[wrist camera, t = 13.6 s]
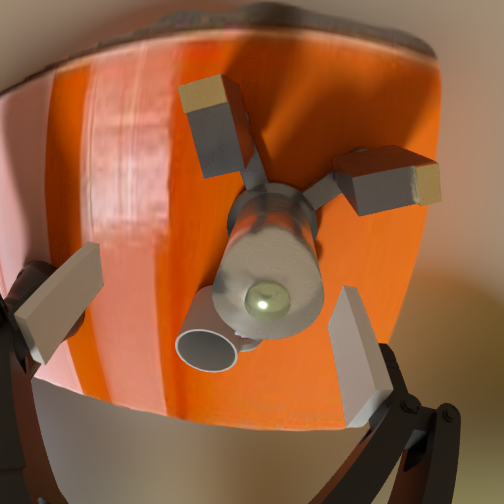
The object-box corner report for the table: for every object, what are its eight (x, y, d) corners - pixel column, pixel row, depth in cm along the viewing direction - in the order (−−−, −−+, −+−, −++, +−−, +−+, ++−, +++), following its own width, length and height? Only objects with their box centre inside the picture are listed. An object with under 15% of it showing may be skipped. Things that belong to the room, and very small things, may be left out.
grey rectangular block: (257, 149, 29) (245, 171, 19) (228, 155, 30) (200, 180, 20) (242, 86, 26) (221, 72, 16) (212, 93, 27) (175, 85, 17)
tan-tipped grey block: (333, 181, 30) (361, 220, 20) (327, 153, 29) (353, 178, 19) (392, 169, 29) (442, 202, 19) (387, 141, 27) (439, 161, 17)
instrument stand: (204, 256, 36) (165, 340, 23) (234, 131, 29) (197, 150, 16) (307, 285, 37) (318, 378, 23) (355, 169, 29) (410, 219, 16)
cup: (191, 280, 38) (170, 325, 30) (268, 286, 37) (264, 334, 29) (196, 322, 41) (179, 368, 33) (265, 328, 40) (261, 377, 33)
